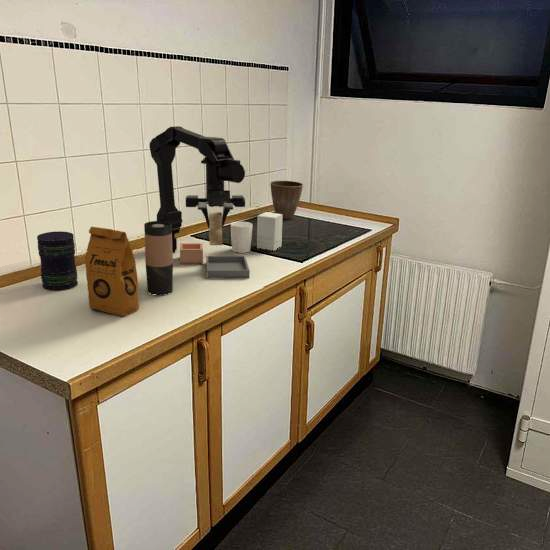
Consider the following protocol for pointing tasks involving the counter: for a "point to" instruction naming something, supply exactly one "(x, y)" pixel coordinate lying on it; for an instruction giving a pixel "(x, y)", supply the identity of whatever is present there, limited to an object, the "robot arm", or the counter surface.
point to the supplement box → (269, 231)
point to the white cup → (241, 236)
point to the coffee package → (111, 272)
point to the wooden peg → (215, 228)
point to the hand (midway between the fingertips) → (215, 227)
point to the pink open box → (191, 253)
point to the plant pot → (286, 197)
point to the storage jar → (57, 260)
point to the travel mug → (159, 257)
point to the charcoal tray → (227, 267)
